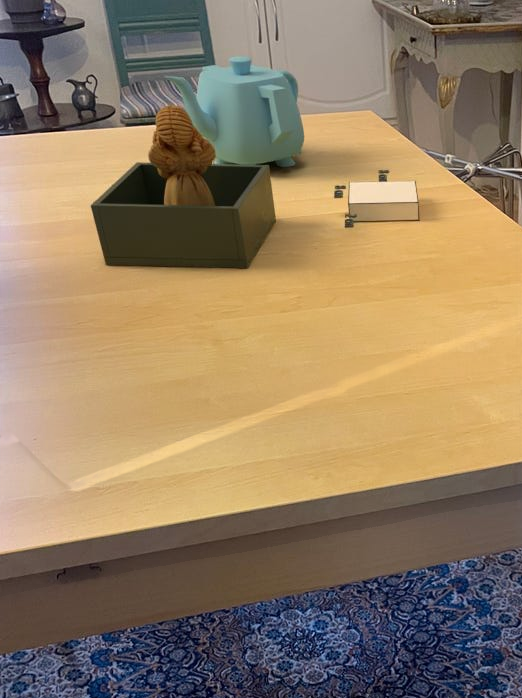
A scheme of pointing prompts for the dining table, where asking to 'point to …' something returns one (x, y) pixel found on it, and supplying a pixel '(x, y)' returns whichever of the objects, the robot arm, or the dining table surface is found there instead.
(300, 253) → the dining table surface
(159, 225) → the bin
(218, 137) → the teapot
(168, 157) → the figurine
